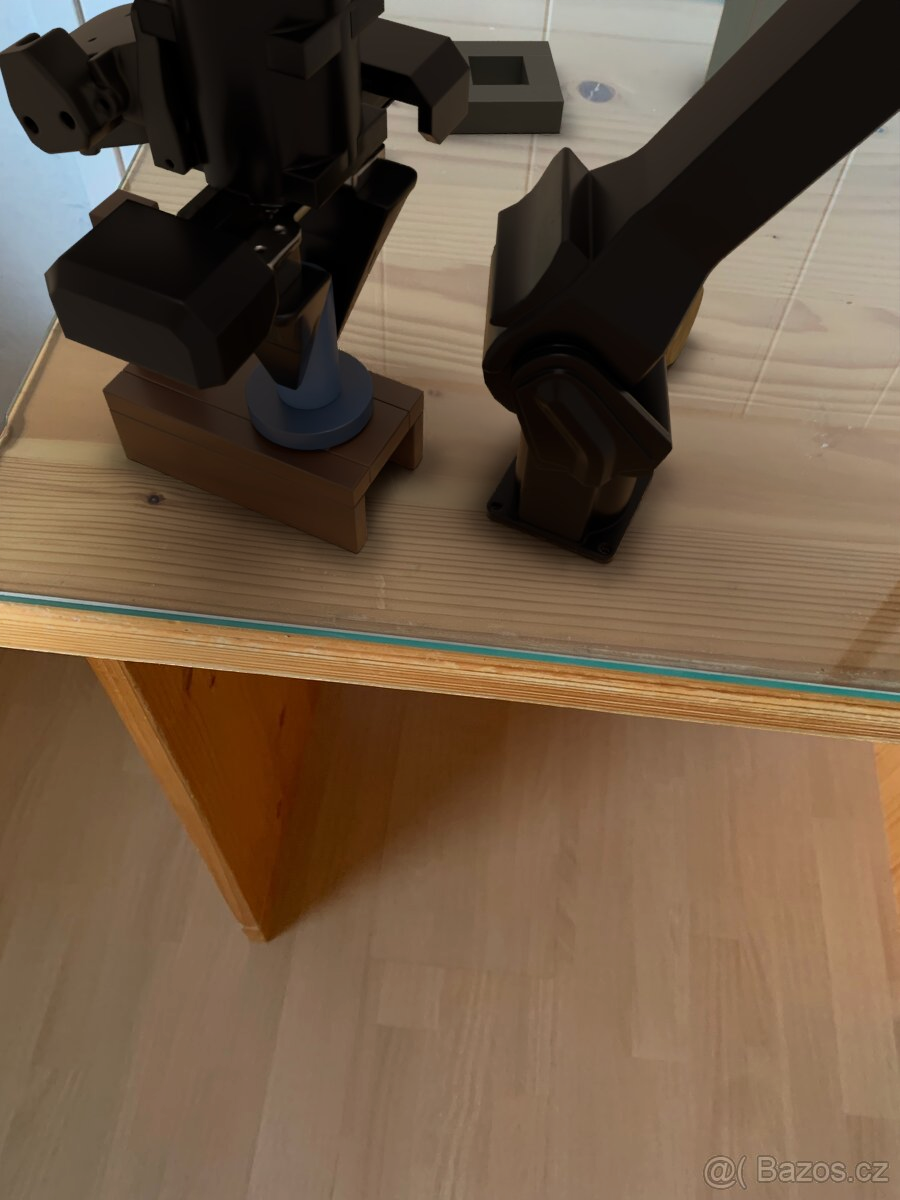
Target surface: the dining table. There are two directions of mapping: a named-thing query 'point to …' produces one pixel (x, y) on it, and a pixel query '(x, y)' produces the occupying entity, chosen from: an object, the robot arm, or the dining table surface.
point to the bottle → (739, 28)
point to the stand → (260, 442)
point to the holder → (511, 88)
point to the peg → (314, 394)
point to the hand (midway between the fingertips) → (307, 362)
